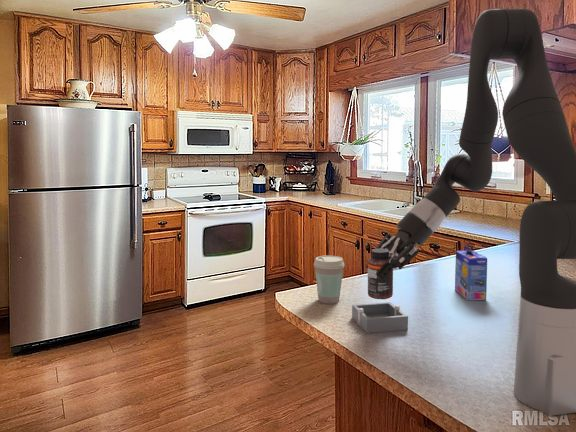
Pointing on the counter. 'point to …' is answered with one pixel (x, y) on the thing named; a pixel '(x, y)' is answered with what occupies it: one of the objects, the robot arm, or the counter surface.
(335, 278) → the coffee cup
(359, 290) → the counter surface
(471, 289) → the ink cartridge box
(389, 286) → the supplement bottle
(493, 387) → the counter surface
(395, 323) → the tray
